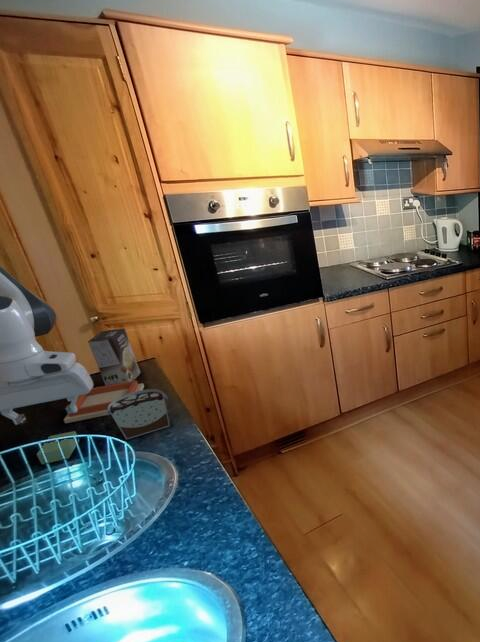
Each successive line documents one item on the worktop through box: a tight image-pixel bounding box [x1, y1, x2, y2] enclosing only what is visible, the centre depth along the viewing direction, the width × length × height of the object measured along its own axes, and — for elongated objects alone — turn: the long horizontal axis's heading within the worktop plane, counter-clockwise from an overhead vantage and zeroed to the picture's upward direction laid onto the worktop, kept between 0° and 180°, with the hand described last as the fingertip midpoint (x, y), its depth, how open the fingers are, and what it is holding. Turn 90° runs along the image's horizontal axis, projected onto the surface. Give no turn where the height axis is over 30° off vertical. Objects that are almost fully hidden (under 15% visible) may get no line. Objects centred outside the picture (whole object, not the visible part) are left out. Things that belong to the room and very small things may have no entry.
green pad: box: [36, 430, 80, 465], centre depth 111 cm, size 5×8×3 cm, turn 27°
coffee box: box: [87, 328, 141, 386], centre depth 141 cm, size 9×6×16 cm
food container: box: [107, 388, 171, 440], centre depth 119 cm, size 12×6×10 cm, turn 130°
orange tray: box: [63, 379, 145, 424], centre depth 131 cm, size 15×15×3 cm
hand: (47, 417), depth 108 cm, fingers open, 8 cm apart
